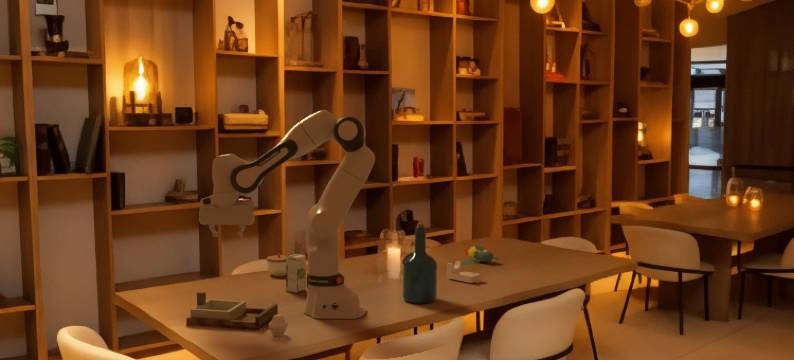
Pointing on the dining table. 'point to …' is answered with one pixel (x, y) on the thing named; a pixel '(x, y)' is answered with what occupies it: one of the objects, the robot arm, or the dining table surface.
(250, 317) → the bay
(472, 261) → the green parrot figure
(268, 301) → the dining table surface
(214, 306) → the drawer
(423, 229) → the wine bottle
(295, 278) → the syrup box
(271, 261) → the lidded jar
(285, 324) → the muffin
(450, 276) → the bracket
